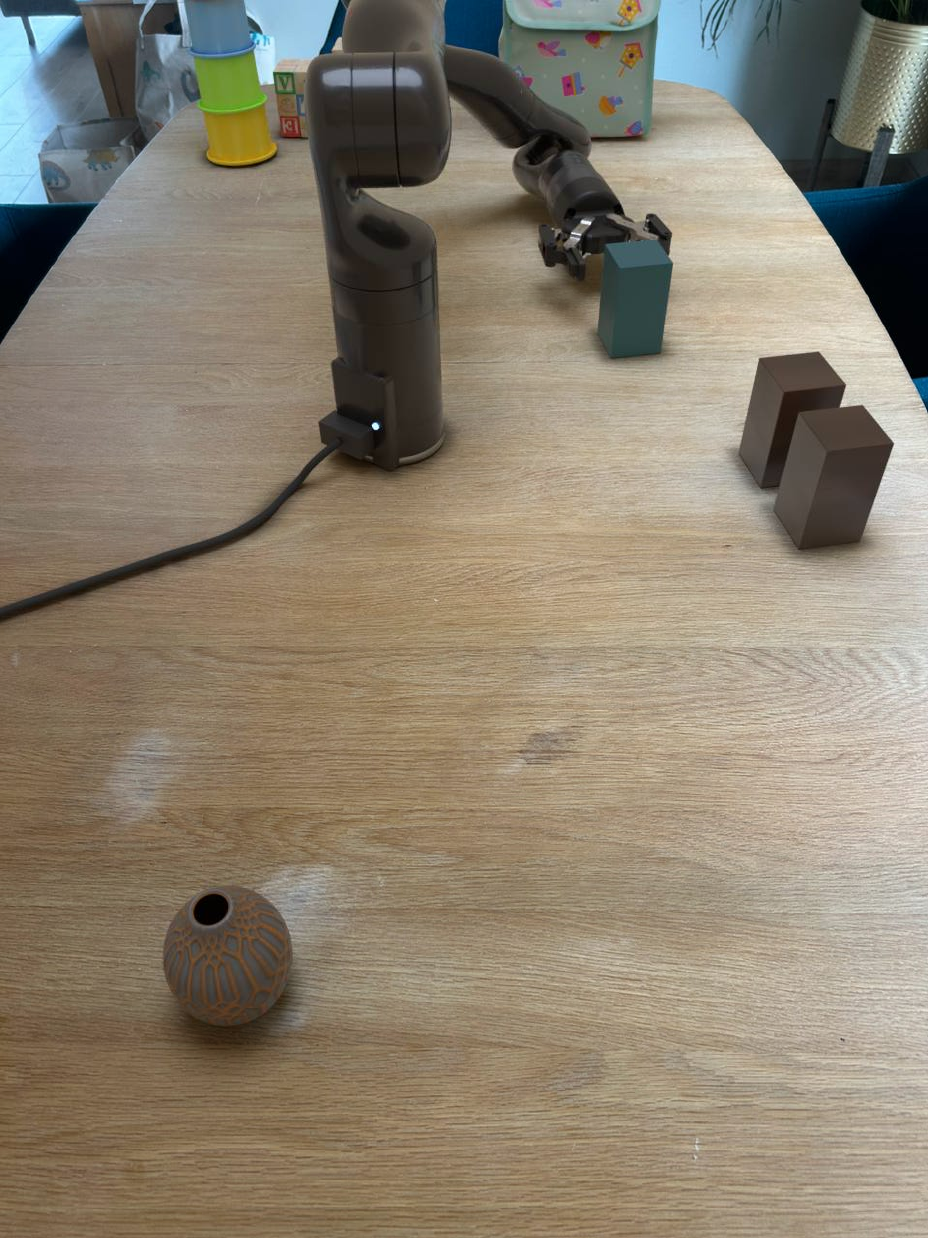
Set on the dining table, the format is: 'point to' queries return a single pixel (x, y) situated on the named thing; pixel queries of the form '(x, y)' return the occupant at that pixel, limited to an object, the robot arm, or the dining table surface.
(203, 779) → the dining table surface
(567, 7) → the lunch bag
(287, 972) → the vase
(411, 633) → the dining table surface
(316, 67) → the robot arm
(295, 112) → the stack of blocks
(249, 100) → the stacking cups
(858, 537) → the walnut block front
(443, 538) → the dining table surface
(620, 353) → the teal block
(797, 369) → the walnut block middle
